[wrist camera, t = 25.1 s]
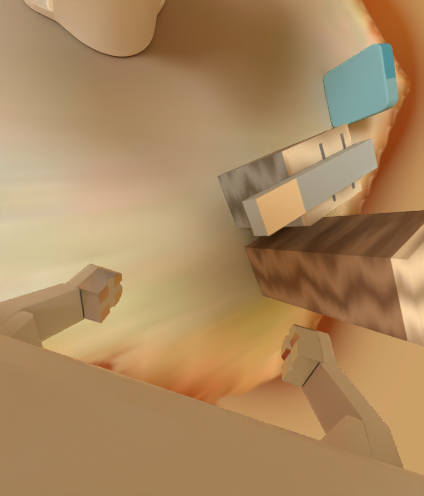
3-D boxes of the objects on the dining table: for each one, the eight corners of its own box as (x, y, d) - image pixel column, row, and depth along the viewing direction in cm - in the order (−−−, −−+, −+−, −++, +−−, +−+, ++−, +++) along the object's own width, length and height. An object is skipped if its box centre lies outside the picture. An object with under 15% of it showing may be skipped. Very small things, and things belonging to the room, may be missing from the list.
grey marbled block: (217, 176, 43) (288, 148, 29) (267, 154, 48) (347, 122, 34) (237, 228, 45) (311, 225, 32) (282, 202, 51) (362, 189, 37)
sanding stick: (240, 201, 26) (256, 198, 24) (353, 144, 35) (372, 138, 33) (252, 235, 27) (269, 235, 25) (359, 171, 36) (378, 167, 34)
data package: (343, 127, 60) (399, 104, 50) (332, 130, 58) (389, 108, 48) (333, 74, 57) (391, 39, 47) (321, 75, 55) (379, 39, 45)
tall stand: (244, 247, 46) (407, 259, 24) (288, 219, 52) (454, 208, 30) (263, 295, 49) (423, 346, 27) (302, 264, 55) (463, 284, 33)
